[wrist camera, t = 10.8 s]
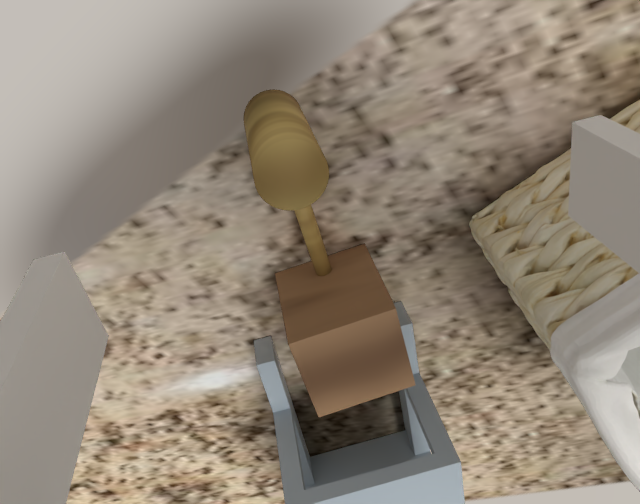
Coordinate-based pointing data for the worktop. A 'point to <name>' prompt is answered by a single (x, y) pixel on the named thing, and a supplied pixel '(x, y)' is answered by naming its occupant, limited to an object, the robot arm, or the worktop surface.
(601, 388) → the storage basket
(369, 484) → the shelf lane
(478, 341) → the worktop surface
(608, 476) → the worktop surface
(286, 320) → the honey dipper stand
